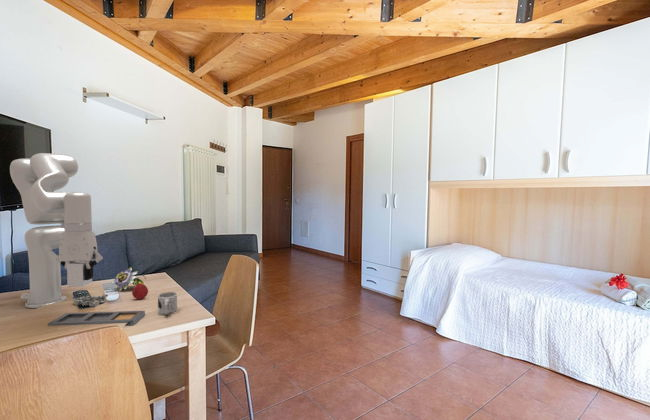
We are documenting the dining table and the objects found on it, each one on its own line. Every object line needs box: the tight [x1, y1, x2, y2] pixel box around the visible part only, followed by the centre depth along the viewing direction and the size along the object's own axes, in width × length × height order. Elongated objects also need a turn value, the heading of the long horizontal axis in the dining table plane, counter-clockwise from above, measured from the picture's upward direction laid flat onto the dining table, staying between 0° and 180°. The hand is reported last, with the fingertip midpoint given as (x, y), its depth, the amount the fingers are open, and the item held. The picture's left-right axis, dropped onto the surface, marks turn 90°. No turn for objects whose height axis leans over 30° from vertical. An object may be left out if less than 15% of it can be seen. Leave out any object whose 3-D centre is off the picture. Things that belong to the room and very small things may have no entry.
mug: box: [157, 291, 178, 316], centre depth 120 cm, size 10×7×7 cm, turn 22°
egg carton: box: [73, 294, 109, 307], centre depth 127 cm, size 11×8×4 cm
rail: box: [47, 310, 146, 327], centre depth 112 cm, size 27×9×2 cm, turn 98°
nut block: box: [66, 261, 93, 288], centre depth 110 cm, size 5×5×8 cm
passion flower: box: [111, 267, 147, 292], centre depth 148 cm, size 11×11×12 cm
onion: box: [131, 282, 149, 300], centre depth 133 cm, size 6×6×8 cm
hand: (80, 278), depth 110 cm, fingers closed on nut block, 5 cm apart
